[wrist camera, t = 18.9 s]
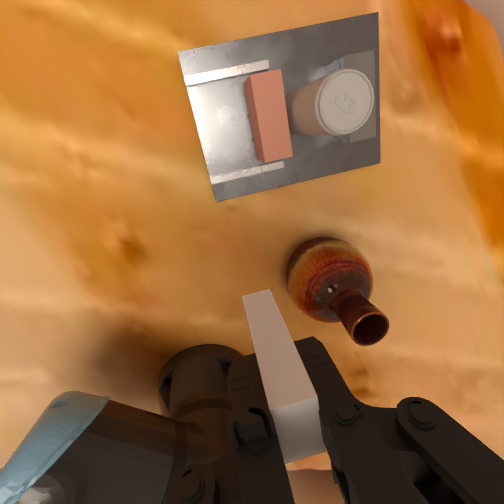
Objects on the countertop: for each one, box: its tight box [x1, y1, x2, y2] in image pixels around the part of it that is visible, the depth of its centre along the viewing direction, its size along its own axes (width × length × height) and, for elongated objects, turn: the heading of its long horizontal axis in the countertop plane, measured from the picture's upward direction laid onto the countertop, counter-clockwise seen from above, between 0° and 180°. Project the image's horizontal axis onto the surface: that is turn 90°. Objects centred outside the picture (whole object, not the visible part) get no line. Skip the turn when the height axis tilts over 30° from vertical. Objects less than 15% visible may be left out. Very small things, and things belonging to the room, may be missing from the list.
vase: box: [286, 238, 389, 346], centre depth 36 cm, size 11×11×15 cm
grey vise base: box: [178, 12, 380, 202], centre depth 31 cm, size 22×16×6 cm
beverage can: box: [285, 69, 374, 136], centre depth 28 cm, size 5×5×12 cm
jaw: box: [243, 69, 293, 163], centre depth 31 cm, size 3×8×5 cm, turn 11°
